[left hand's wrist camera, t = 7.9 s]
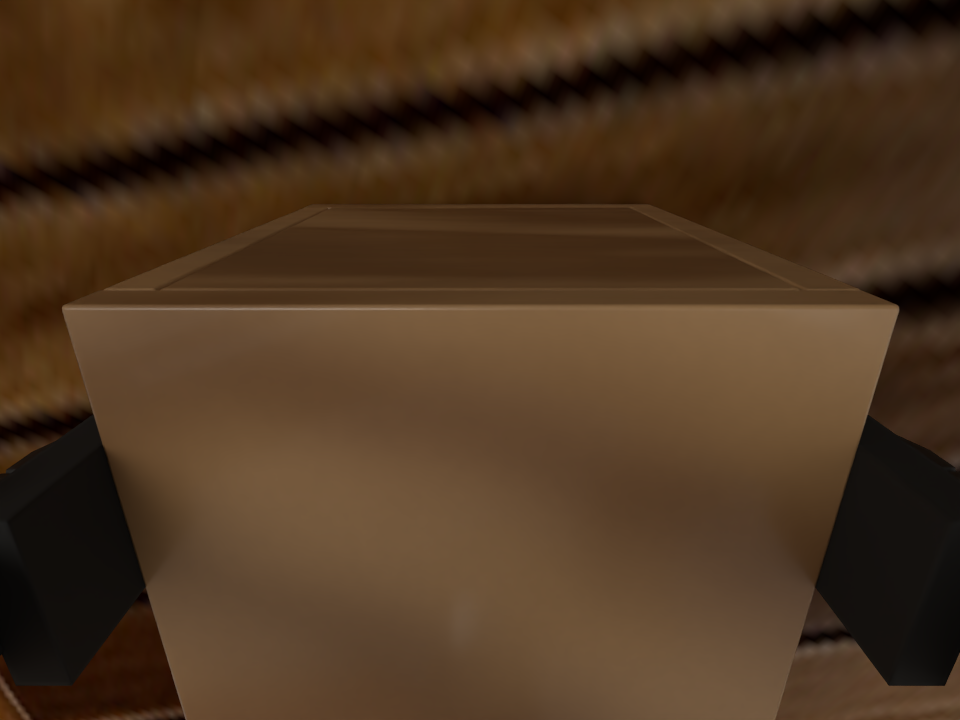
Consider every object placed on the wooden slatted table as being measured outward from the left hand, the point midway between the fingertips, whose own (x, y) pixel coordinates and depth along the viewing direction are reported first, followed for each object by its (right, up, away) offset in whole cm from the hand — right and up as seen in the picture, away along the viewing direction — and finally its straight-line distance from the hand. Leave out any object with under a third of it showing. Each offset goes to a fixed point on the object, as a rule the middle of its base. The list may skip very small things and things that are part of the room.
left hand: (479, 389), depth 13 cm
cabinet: (0, -3, +8) cm, 9 cm away
